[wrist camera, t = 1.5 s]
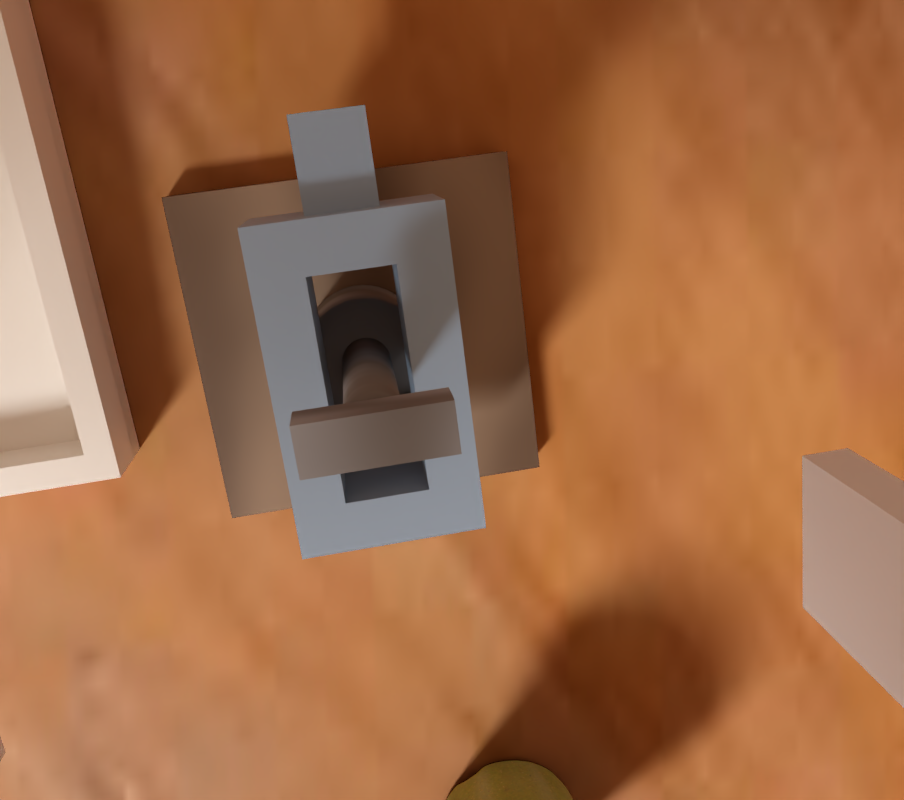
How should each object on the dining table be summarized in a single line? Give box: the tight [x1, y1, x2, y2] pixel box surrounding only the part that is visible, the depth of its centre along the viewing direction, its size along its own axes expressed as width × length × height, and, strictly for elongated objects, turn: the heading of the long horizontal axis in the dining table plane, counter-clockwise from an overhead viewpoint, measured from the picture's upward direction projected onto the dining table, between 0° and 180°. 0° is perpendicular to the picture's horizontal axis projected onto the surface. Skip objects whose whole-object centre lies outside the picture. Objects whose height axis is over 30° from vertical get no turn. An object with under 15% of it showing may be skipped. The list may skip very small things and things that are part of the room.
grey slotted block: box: [237, 105, 486, 559], centre depth 27 cm, size 13×6×3 cm, turn 7°
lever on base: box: [162, 151, 539, 518], centre depth 27 cm, size 12×12×12 cm
